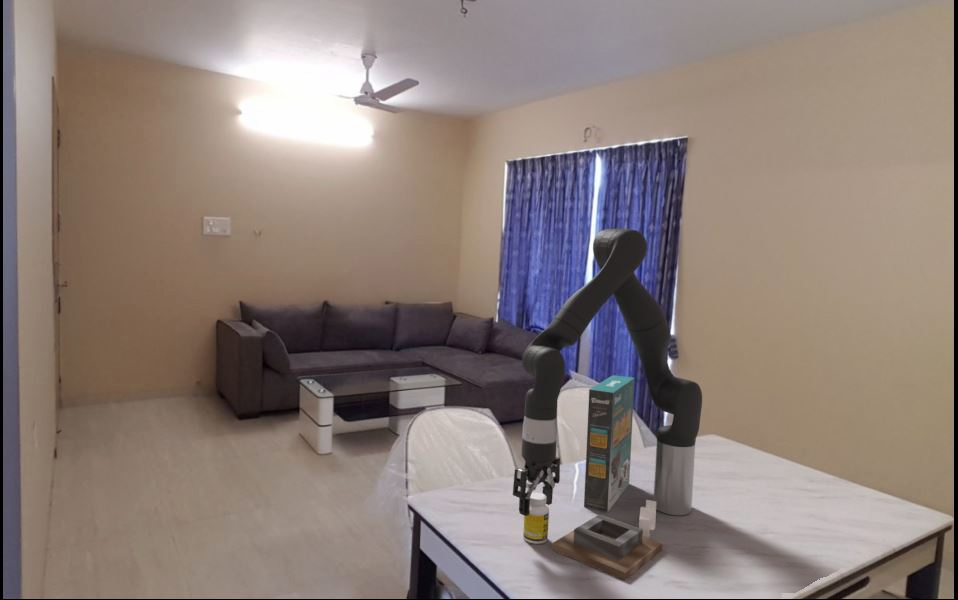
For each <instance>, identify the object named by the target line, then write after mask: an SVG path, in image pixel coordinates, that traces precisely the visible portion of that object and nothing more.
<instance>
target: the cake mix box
mask: <svg viewBox="0 0 958 600" xmlns="http://www.w3.org/2000/svg"><path fill="white" fill-rule="evenodd" d="M634 397H635V377H630V376H622V375H611V376H610V377H607V378H606V379H604V380H603V381H601V382H599V383H598V384H596V385H595V386H592V387H591V388H589V389H588V409H587V434H586V450H585V451H586V452H585V453H586V457H585V473H584V474H585V475H584V477H585V478H584V498H583V499H584V500H583V501H584V502H583V507H584V508H588V509H592V510H595V511H601V512H605V513H608V512H609V511H610V510H611V508H612V507H613V506H614V504H615V503H616V501H617V500H618V499H619V498H620V496H621V495H622V494H623V492H624V491H625V490H626V489H627V487H628V486H629V485H630V474H631V473H630V471H631V458H632V457H631V454H632V453H631V452H632V437H633V436H632V434H633V433H632V432H633V418H634V417H633V415H634Z"/></svg>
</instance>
